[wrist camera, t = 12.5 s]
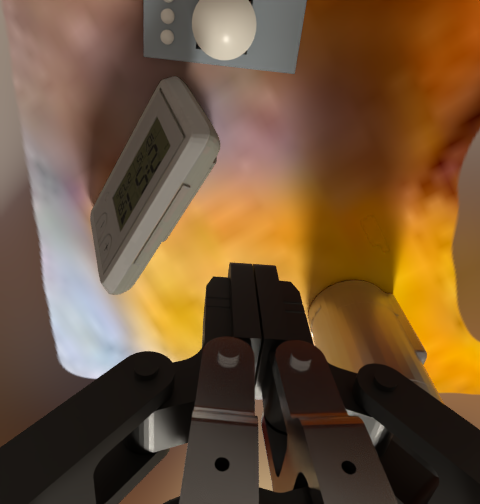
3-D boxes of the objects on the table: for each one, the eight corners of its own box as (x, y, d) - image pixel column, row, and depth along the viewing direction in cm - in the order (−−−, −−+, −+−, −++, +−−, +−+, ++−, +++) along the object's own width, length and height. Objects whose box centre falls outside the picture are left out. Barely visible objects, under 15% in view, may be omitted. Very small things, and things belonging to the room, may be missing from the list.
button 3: (256, -9, 33) (260, -8, 30) (249, 57, 35) (252, 63, 32) (195, -17, 32) (193, -17, 29) (192, 50, 35) (190, 56, 32)
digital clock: (176, 61, 36) (162, 87, 27) (253, 137, 39) (264, 182, 30) (65, 193, 41) (22, 252, 32) (140, 249, 45) (121, 316, 36)
